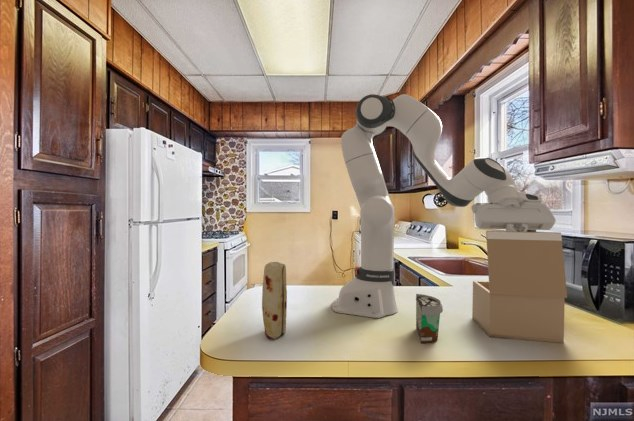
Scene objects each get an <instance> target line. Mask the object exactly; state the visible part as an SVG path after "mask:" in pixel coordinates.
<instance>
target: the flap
mask: <svg viewBox="0 0 634 421" xmlns="http://www.w3.org/2000/svg"><path fill="white" fill-rule="evenodd" d="M485 234H486V250H487V251H486V253H487V254H486V255H487V271H488V272H487V273H488V282H489V292H490V294H507V295H525V296H543V297H562V298H565V299H567V298H568V291H567V280H566V270H565V262H564V261H565V259H564V252H563V251H564V249H563V236H562V232H555V231H553V232H552V231H551V232H549V231H548V232H547V231H536V232H509V231H506V230H505V231H502V230H498V231H496V230H495V231H494V230H493V231H492V230H486V232H485Z"/></svg>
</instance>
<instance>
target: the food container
mask: <svg viewBox="0 0 634 421" xmlns="http://www.w3.org/2000/svg"><path fill="white" fill-rule="evenodd" d="M415 300H416V304H415V307H416V308H415V312H416V313H415V323H416V324H415V326H416V327H415V328H416V329H415V330H416V333H417V336H418V339H419V342H420V344H421V345H422V344H424V345H426V344H434V343H436V342H437V341H438V340H439V339H438V338H439V327H440V317H441V313H443V311H444V308H443V304H442V303H441V300H440V299H439V298H436V297H434V296H431V295H427V294H420V293H416V295H415Z"/></svg>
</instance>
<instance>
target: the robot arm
mask: <svg viewBox="0 0 634 421" xmlns="http://www.w3.org/2000/svg"><path fill="white" fill-rule="evenodd" d="M355 118H356V124H355V125H354V126H353V127H352V128H349V129H346V131H344V133H342V134H341V136H340V145H341V153H342V156H343V160H344V164H345V167H346V170H347V173H348V176H349V181H350V183H351V186H352V189H353V191H354V194H355V196H356V199H357V201H358V204H359V208H360V210H359V213H360V215H359V216H360V218H359V219H360V220H359V222H360V266H358V265H356V266H354V269H353V270H354V278H352V279H351V280H350V281H348V282H347V283H345V284H344V285H343V286H342V287H341V288H340V290H339V294H338V298H335V299H334V300H333V301H332V303H331V305H332V306H331V309H332V310H333V311H334V312H335V313H339V314H345V315H346V314H348V315H354V316H361V317H367V318H374V319H375V318H376V319H380V318H382V317H385V316H389V315H390V316H391V315H393V314H396V313H397V312H398V310H399V308H398V305H397V300H396V295H395V283H396V281H395V280H396V271H395V268H394V245H395V244H394V243H395V215H396V214H395V207H394V204H393V202H392V201H391V198H390V195H389V191H388V188H387V185H386V182H385V178H384V174H383V172H382V169H381V166H380V162H379V159H378V156H377V153H376V151H375V146H374V144H373V140H376V139H377V138H378V137H379V136H381V135H382V134H383V133H384V132H385V131H386V129H387V128H388V127H393V128H395V129H397V130H398V131H399V132H401V134H403V135H404V136H405V137H406V138H407V139H408V140H409V142H410V143H411V146H412V148H413V151H412V156H413V157H414V159H415V160H416V162H417V163H418V165H419V166H420V168H421V169H422V170H423V172H425V173H426V175H427V176H428V177H429V179H430V180H431V181H432V182H433V183H434V185H435V187H437V189H438V190H439V191H440V194H441V195H442V197H443V198H444V200H445V201H446V202H447V203H448V205H449V206H452V207H456V208H457V207H459V208H465V207H467V206H468V205H469V204H471V202H473V201H474V199H476V197H478V196H479V195H481V194H482V193H484V194H485V195H486V196H487V202H483V203H481V202H478V203H477V202H476V203H474V204H473V205H472V206H471V212H472V213H473V214H474V221H475V222H474V223H475V226H476V228H478V229H479V230H480V229H481V230H505V231H509V232H517V231H516V230H515V229H518V230H520V231H521V232H522V231H523V232H527V230H536V231H551V229H552V228H553V227H554V226H555V224H556V218H555V216H554V214H553V212H552V211H551V210H550V208H549V207H548V206H547V205H546V204H545V203H542V202H543V198H542V196H540V195H536V194H531V193H526V192H523V191H521V190H519V189H518V188H517V187H516V183H515V180H514V179H513V177H512V175H511V173H510V172H509V170H507V168H506V167H505V166H504V165H502V164H500V163H499V162H498V161H496V160H495V159H492V158H490V157H482V156H481V157H480V156H479V157H475V158H474V159H472V160H471V161H470V162H469V163H467V165H465V166H464V167H463V168H462V169H461V170H460V171H459V172H458V173H456V175H454V176H453V177H452V178H451V177H449V176H448V175H447V173H446V172H445V171H444V169H443V168H442V167H441V165H440V164H439V163H438V162H437V160H436V157H435V152H436V148H437V146H438V143H439V142H440V140H441V136H442V132H443V124H442V121H441V119H440V117H439V116H438V115H437V113H435V112H434V111H433V110H431V109H430V108H429V107H428V106H426V104H424V103H422V102H421V101H420V100H418V99H416V98H415V97H413V96H411V95H409V94H405V93H403V94H400V95H397V97H395V98H393V99H392V98H391V97H387V96H382V95H380V94H372V93H371V94H367V95H365V96H363V97H362V98H361V99H360V100H359V102H358V103H357V105H356V107H355Z"/></svg>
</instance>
